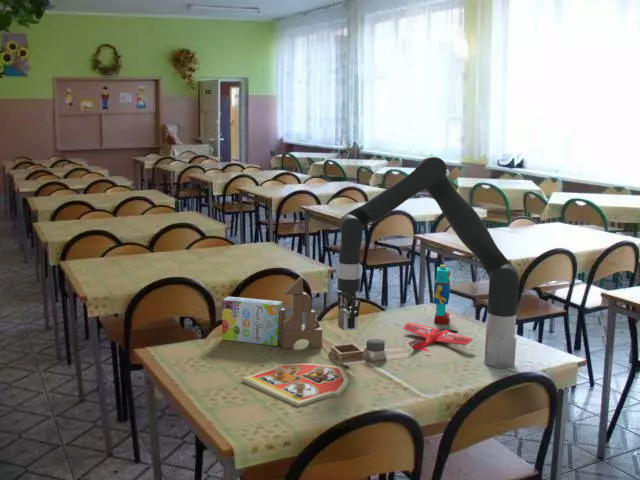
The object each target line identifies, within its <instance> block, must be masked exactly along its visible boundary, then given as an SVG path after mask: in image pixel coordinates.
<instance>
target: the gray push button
mask: <svg viewBox="0 0 640 480" xmlns="http://www.w3.org/2000/svg"><path fill="white" fill-rule="evenodd" d="M385 343H386V341H385V340H382V339H377V338H371V339H368V340H366V344H365V345H366V346H365V347H366V348H367V349H369V350H372V351H380V350H383V349H384V348H385V345H386V344H385Z"/></svg>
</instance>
